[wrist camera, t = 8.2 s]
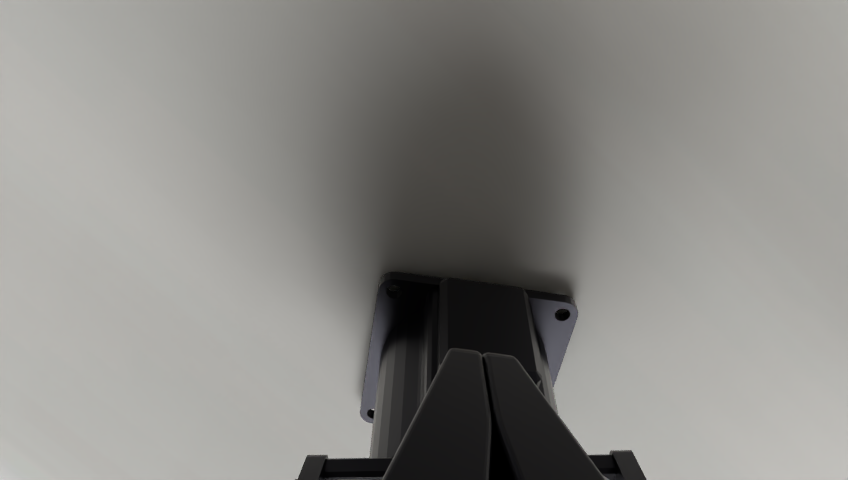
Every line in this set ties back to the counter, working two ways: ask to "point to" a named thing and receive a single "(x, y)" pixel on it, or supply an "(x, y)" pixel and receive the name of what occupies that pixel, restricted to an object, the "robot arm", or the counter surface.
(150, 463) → the counter surface
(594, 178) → the counter surface
